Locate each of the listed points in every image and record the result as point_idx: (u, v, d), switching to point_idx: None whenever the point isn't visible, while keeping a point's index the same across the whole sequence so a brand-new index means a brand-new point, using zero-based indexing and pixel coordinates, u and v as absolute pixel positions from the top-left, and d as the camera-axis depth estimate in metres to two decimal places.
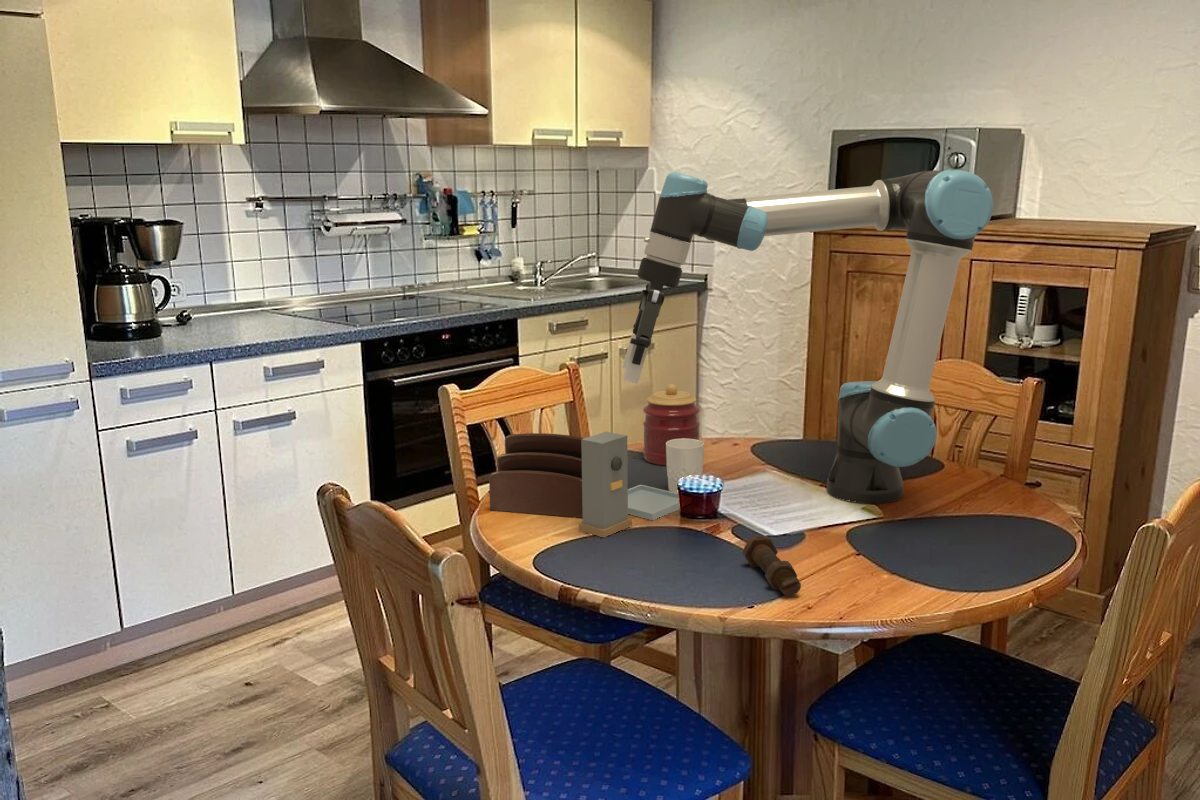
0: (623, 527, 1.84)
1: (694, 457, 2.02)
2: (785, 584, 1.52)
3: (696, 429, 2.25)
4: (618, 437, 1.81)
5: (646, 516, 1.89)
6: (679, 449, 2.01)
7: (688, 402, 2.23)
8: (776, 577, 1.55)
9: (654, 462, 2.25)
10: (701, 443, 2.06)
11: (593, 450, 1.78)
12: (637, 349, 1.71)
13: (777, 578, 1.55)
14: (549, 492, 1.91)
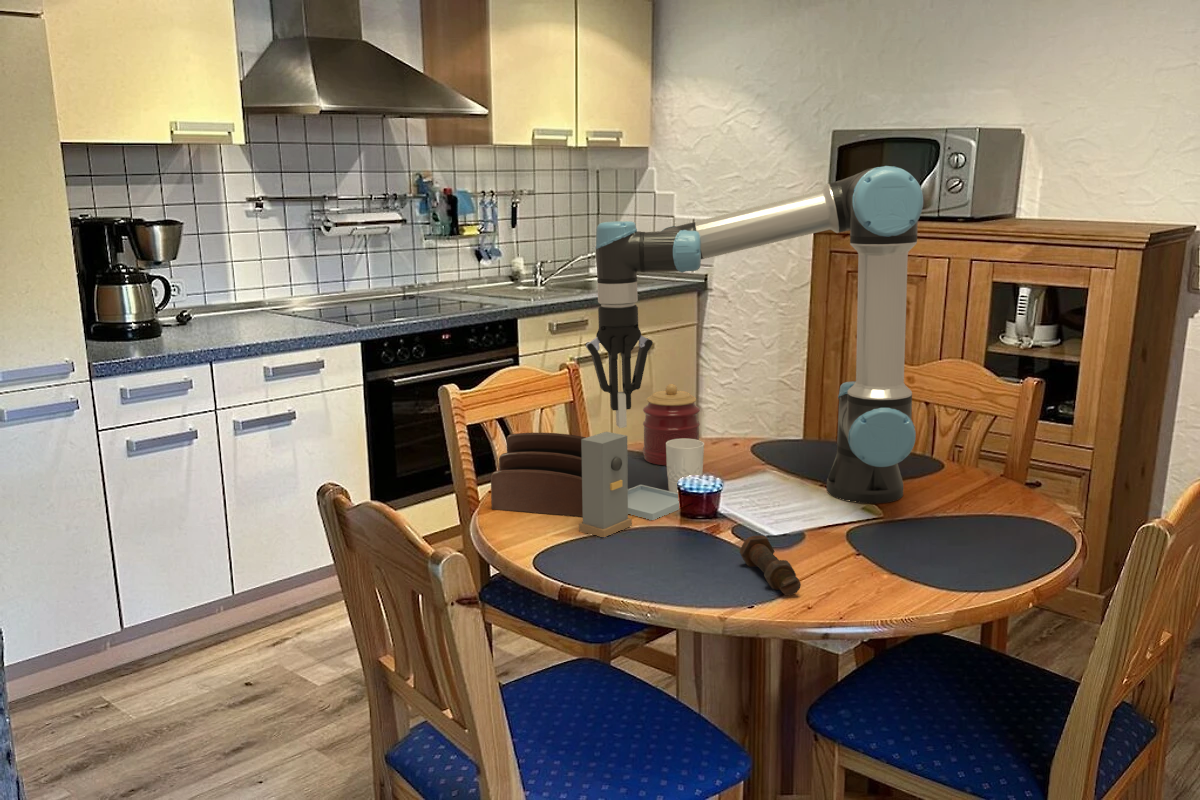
0: (623, 527, 1.84)
1: (694, 457, 2.02)
2: (785, 583, 1.53)
3: (696, 429, 2.25)
4: (618, 437, 1.81)
5: (646, 516, 1.89)
6: (679, 449, 2.01)
7: (688, 402, 2.23)
8: (775, 576, 1.55)
9: (654, 462, 2.25)
10: (701, 443, 2.06)
11: (593, 450, 1.78)
12: (610, 396, 1.92)
13: (777, 577, 1.55)
14: (551, 491, 1.92)
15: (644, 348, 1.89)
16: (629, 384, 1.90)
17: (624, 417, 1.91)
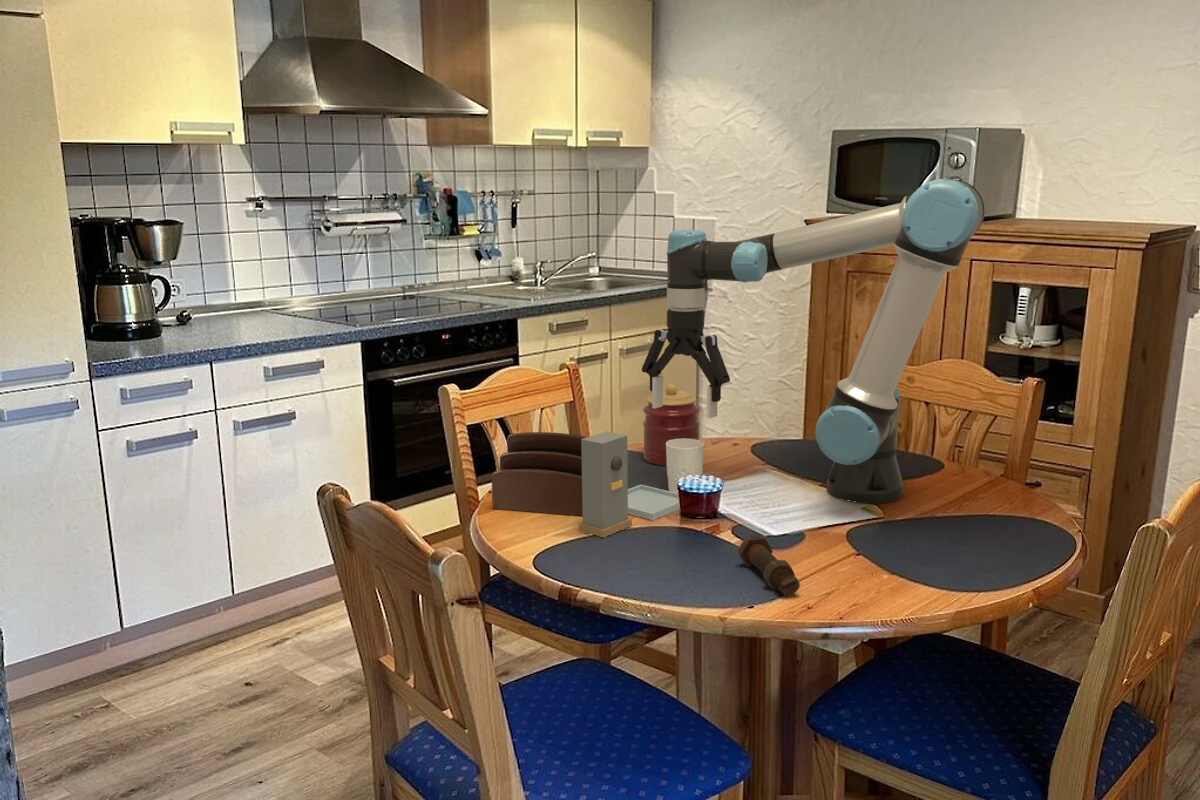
0: (623, 527, 1.84)
1: (694, 457, 2.02)
2: (784, 583, 1.53)
3: (696, 429, 2.25)
4: (618, 437, 1.81)
5: (646, 516, 1.89)
6: (679, 449, 2.01)
7: (688, 402, 2.23)
8: (774, 577, 1.55)
9: (654, 462, 2.25)
10: (701, 443, 2.06)
11: (593, 450, 1.78)
12: None
13: (776, 577, 1.55)
14: (552, 491, 1.92)
15: (706, 346, 1.96)
16: (710, 377, 1.96)
17: (708, 408, 1.98)
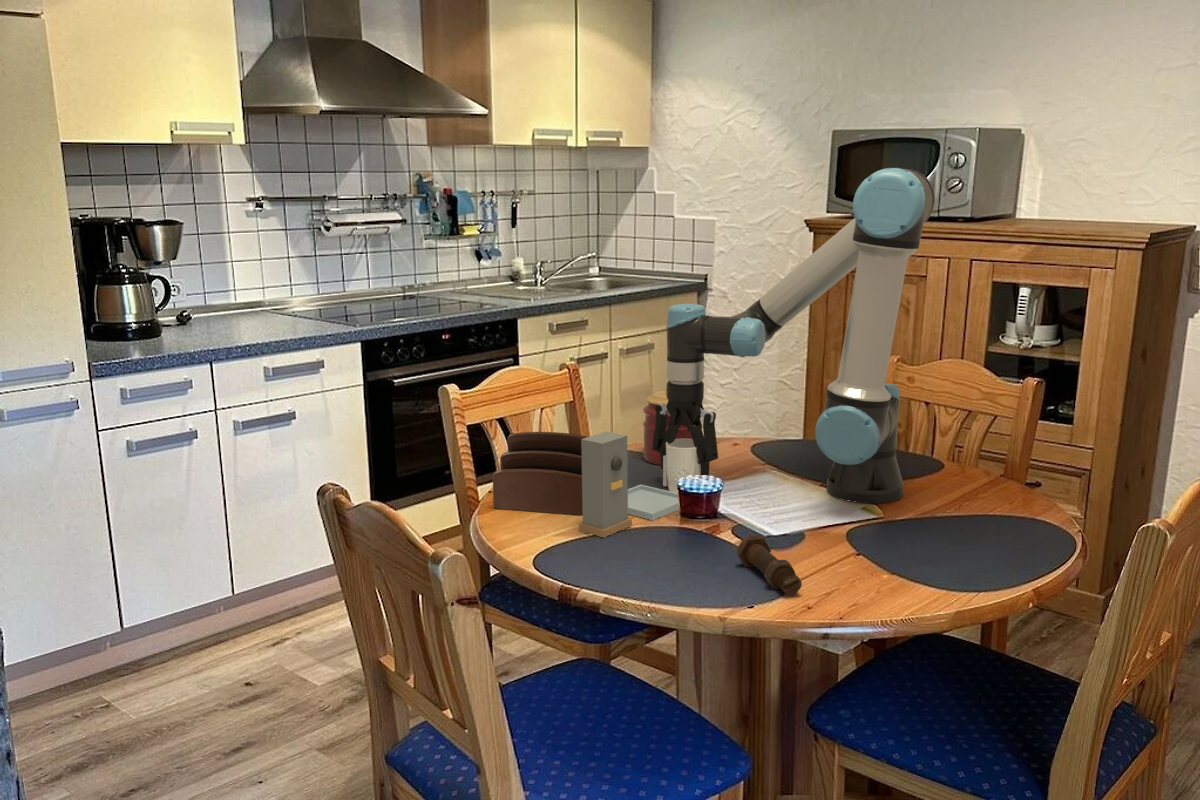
0: (623, 527, 1.84)
1: (694, 457, 2.02)
2: (787, 583, 1.53)
3: None
4: (618, 437, 1.81)
5: (646, 516, 1.89)
6: (679, 449, 2.01)
7: None
8: (776, 576, 1.55)
9: (654, 462, 2.25)
10: None
11: (593, 450, 1.78)
12: None
13: (777, 577, 1.55)
14: (553, 490, 1.93)
15: (704, 422, 1.99)
16: (700, 454, 2.01)
17: None
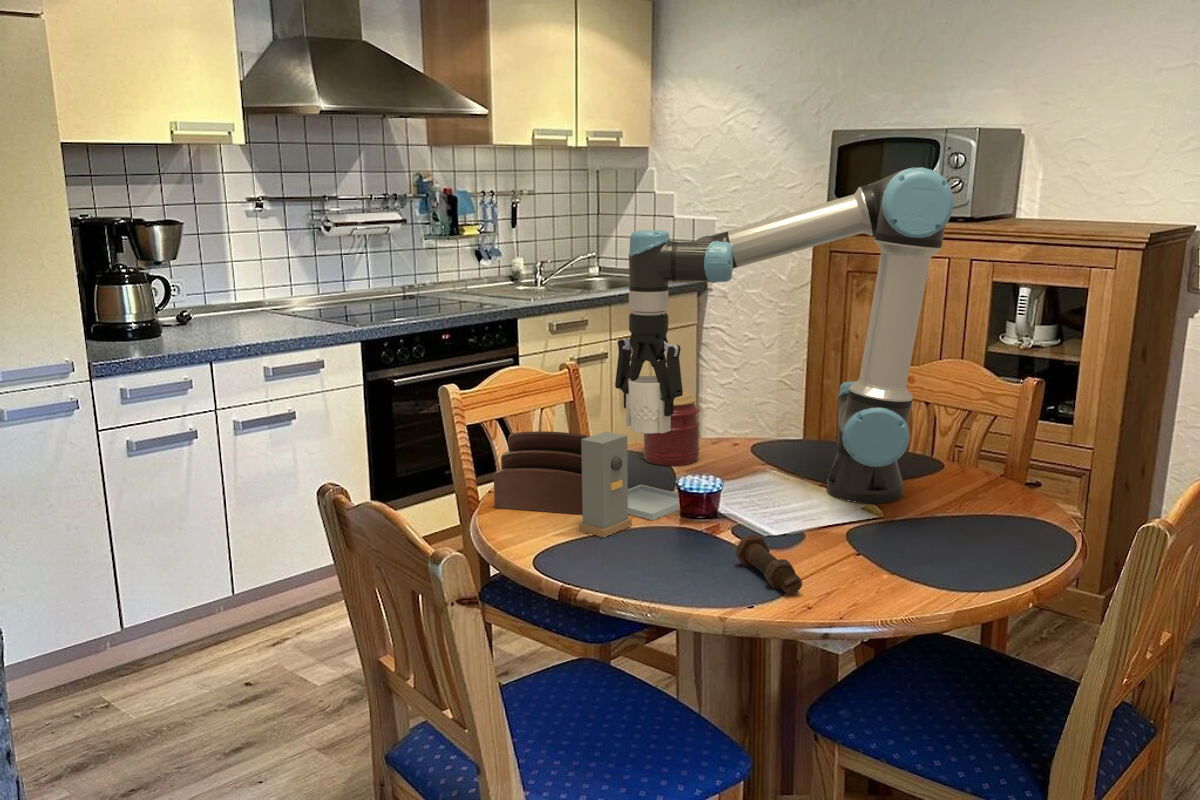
0: (623, 527, 1.84)
1: (657, 393, 1.90)
2: (787, 582, 1.53)
3: (696, 429, 2.25)
4: (618, 437, 1.81)
5: (646, 516, 1.89)
6: (641, 385, 1.90)
7: (688, 402, 2.23)
8: (777, 576, 1.55)
9: (654, 462, 2.25)
10: None
11: (593, 450, 1.78)
12: None
13: (778, 577, 1.55)
14: (554, 489, 1.93)
15: (667, 356, 1.87)
16: (664, 391, 1.89)
17: (660, 423, 1.91)
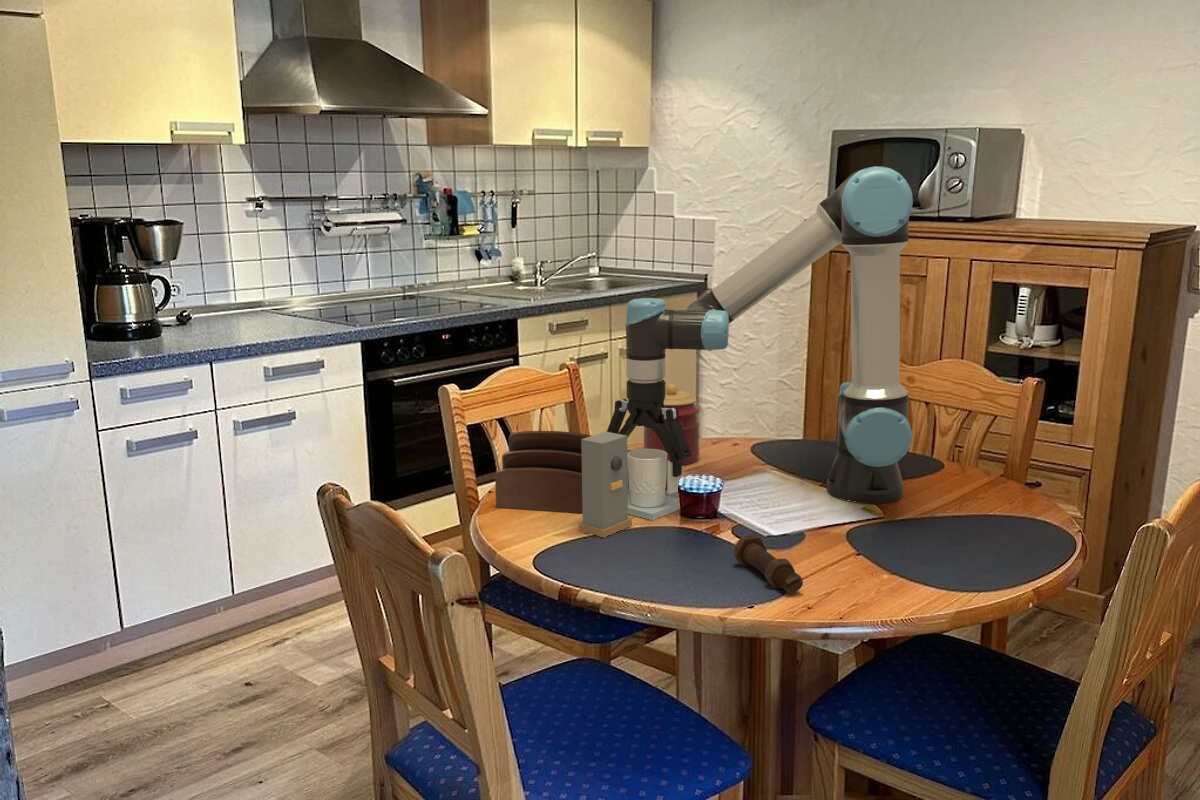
0: (623, 527, 1.84)
1: (656, 468, 1.92)
2: (789, 582, 1.53)
3: (696, 429, 2.25)
4: (618, 437, 1.81)
5: (646, 516, 1.89)
6: (640, 460, 1.92)
7: (688, 402, 2.23)
8: (777, 575, 1.56)
9: None
10: (664, 454, 1.96)
11: (593, 450, 1.78)
12: None
13: (778, 576, 1.55)
14: (556, 489, 1.93)
15: (667, 419, 1.89)
16: (671, 452, 1.90)
17: (668, 483, 1.91)
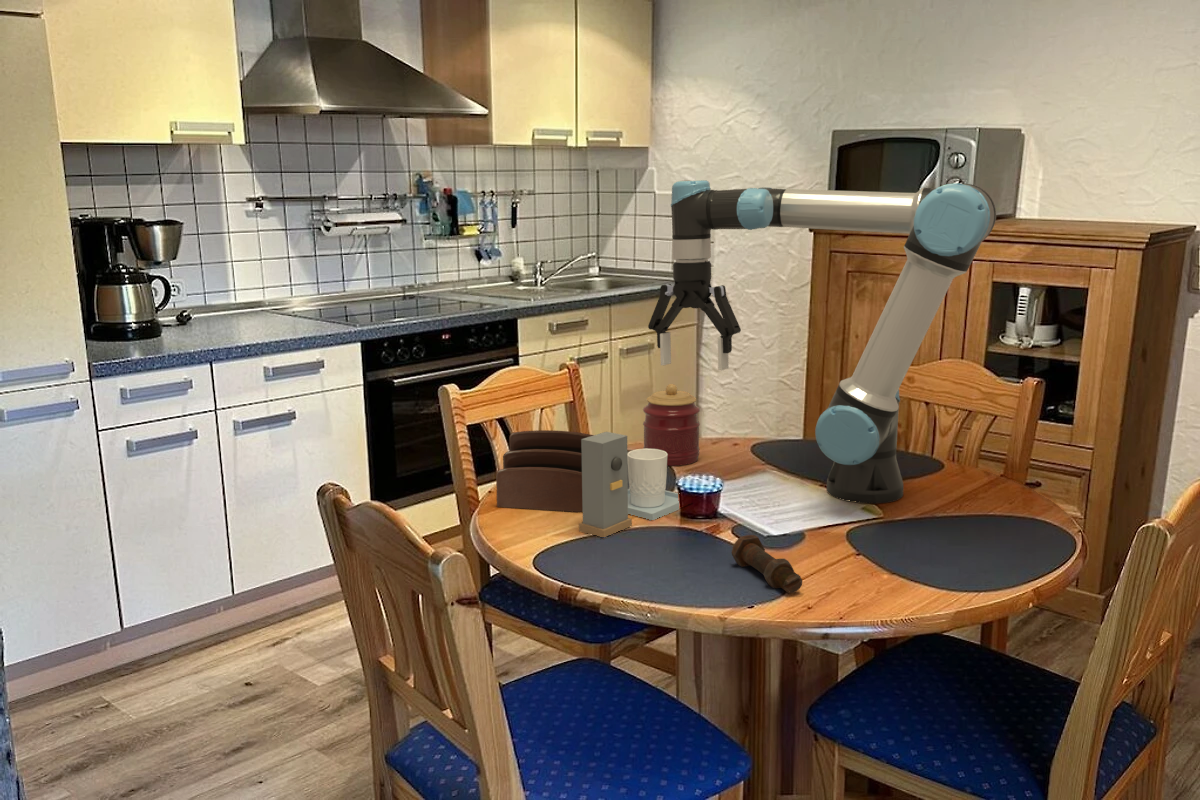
0: (623, 527, 1.84)
1: (656, 469, 1.92)
2: (788, 581, 1.53)
3: (696, 429, 2.25)
4: (618, 437, 1.81)
5: (646, 516, 1.89)
6: (640, 460, 1.92)
7: (688, 402, 2.23)
8: (777, 575, 1.56)
9: None
10: (665, 454, 1.96)
11: (593, 450, 1.78)
12: None
13: (778, 576, 1.55)
14: (557, 488, 1.94)
15: (715, 296, 1.93)
16: (721, 328, 1.94)
17: (719, 360, 1.95)
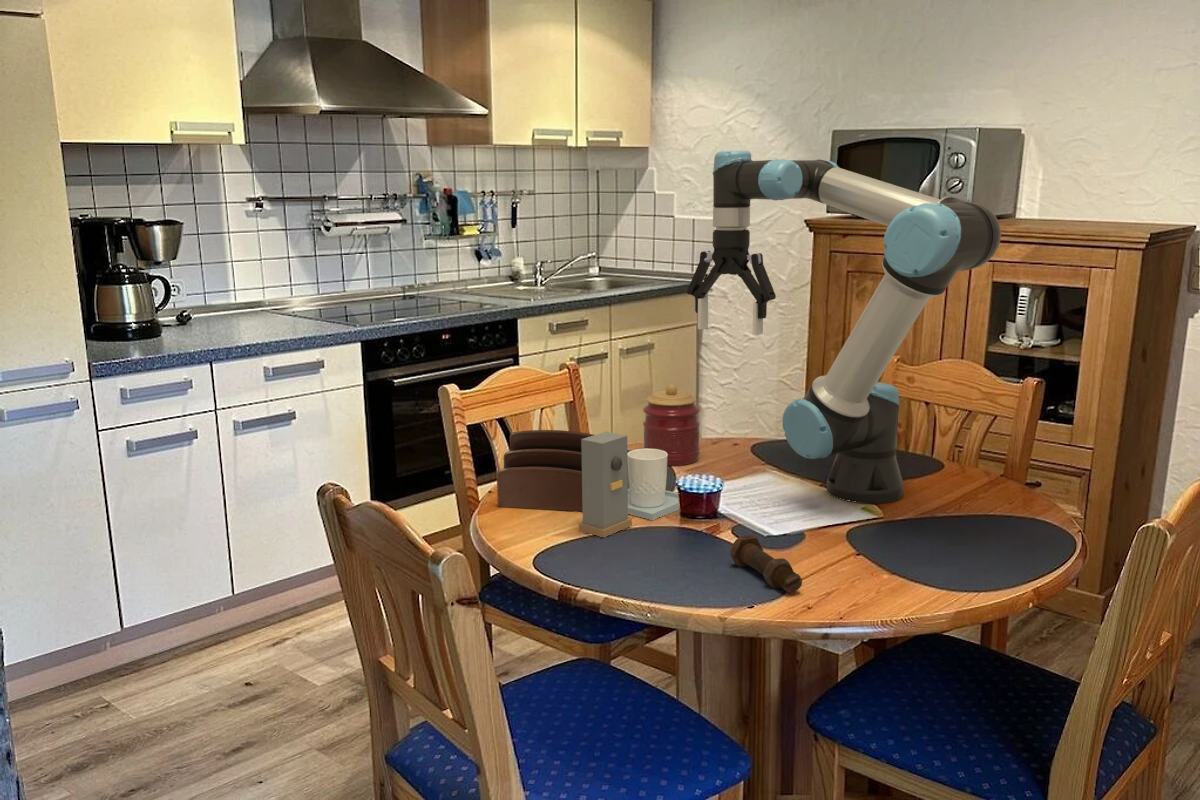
0: (623, 527, 1.84)
1: (656, 469, 1.92)
2: (788, 581, 1.53)
3: (696, 429, 2.25)
4: (618, 437, 1.81)
5: (646, 516, 1.89)
6: (640, 460, 1.92)
7: (688, 402, 2.23)
8: (776, 575, 1.56)
9: None
10: (665, 454, 1.96)
11: (593, 450, 1.78)
12: None
13: (778, 576, 1.55)
14: (558, 487, 1.94)
15: (752, 263, 2.01)
16: (757, 294, 2.01)
17: (754, 325, 2.03)
